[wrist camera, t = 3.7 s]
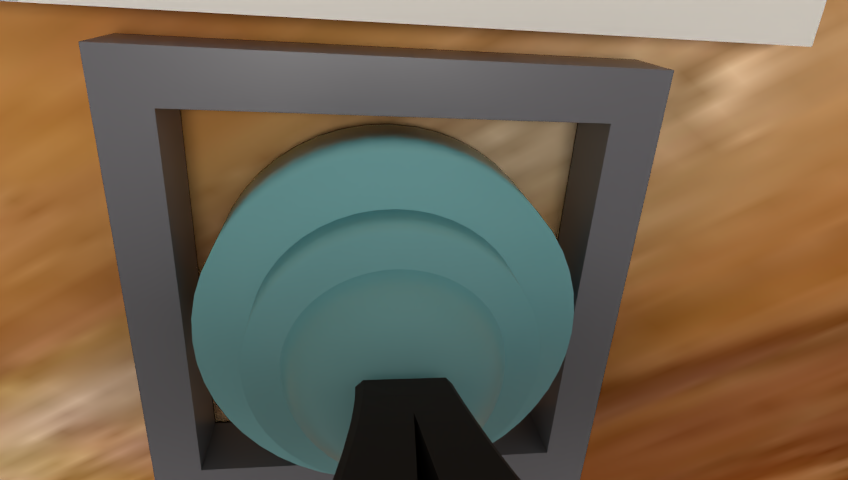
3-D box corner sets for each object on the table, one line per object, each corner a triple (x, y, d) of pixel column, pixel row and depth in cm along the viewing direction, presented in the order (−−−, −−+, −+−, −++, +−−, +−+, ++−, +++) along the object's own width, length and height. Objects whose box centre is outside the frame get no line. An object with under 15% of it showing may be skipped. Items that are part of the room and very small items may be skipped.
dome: (520, 408, 15) (590, 578, 11) (227, 419, 14) (177, 613, 10) (565, 130, 12) (686, 212, 8) (197, 118, 11) (105, 206, 7)
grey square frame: (559, 438, 16) (579, 481, 14) (176, 455, 14) (159, 505, 13) (635, 59, 12) (673, 69, 10) (113, 33, 10) (78, 41, 9)
